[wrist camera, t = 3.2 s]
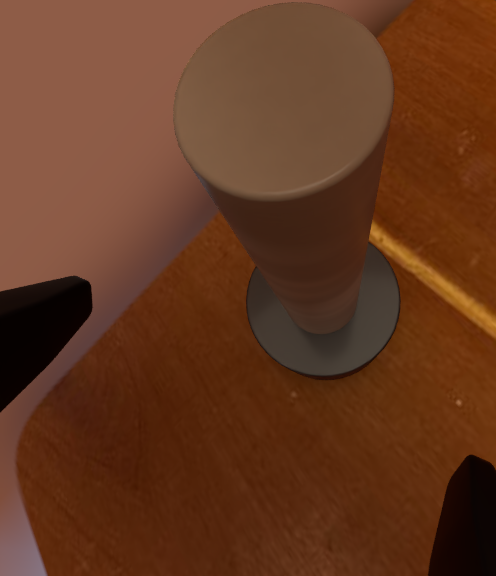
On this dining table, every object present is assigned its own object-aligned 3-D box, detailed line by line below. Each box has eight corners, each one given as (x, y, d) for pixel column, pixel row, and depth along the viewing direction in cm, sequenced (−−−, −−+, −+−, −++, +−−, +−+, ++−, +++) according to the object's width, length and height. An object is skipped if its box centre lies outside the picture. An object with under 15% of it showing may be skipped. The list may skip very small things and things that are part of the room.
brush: (301, 403, 20) (171, 437, 5) (242, 295, 22) (0, 55, 6) (415, 339, 20) (679, 149, 4) (345, 235, 21) (360, -176, 6)
